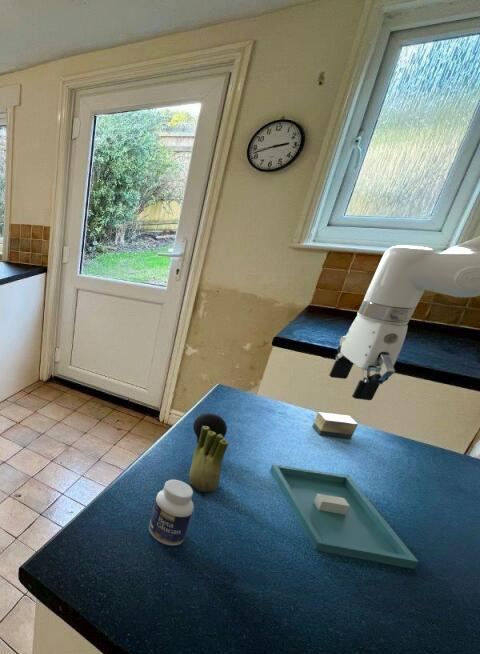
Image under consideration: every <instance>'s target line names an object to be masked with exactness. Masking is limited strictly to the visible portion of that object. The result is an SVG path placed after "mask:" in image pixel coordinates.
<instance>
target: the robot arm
mask: <svg viewBox="0 0 480 654" xmlns="http://www.w3.org/2000/svg"><path fill="white" fill-rule="evenodd" d="M425 291H429V292H433V293H437V294H442V295H446V296H449V297H454V298H475V297H480V236H476V237H475V238H472V239H470V240H466V241H464V242H462V243H459V244H457V245H454V246H452V247H450V248H448V249H446V250H443V252H440V251H439V250H437V249H435V248H430V247H425V246H419V245H393V246H391V247H389V248H387V249H386V250H385V252H384V253H383V255H382V257H381V259H380V262H379V263H378V266H377V268H376V270H375V272H374V275H373V277H372V279H371V282H370V283H369V286H368V288H367V290H366V293H365V295H364V298H363V299H362V302H361V304H360V307H359V309H358V311H357V313H356V317H355V319H354V320H353V322H352V323H351V325H350V326H349V329H348V331H347V333H346V334H345V335H343V336H341V337H340V338H339V346H338V347H337V354H336V355H335V361H334V363H333V365H332V368H331V370H330V372H329V374H328V376H329V377H330V378H334V379H342V380H343V379H344V380H345V379H348V377H349V375H350V373H351V371H352V368H353V366H354V365H355V366H356V367H357V368H359V369H361V370H362V379H360V380H359V381H358V383H357V385H356V387H355V389H354V391H353V393H352V395H351V397H352V398H353V399H356V400H363V401H364V400H365V401H372V400H373V399H374V396H375V394H376V393H377V391H378V389H379V387H380V385H383V383H384V382H386V381H388V380H389V378H390V377H391V376H392V375H394V373H395V372H396V370H395V364H396V362H397V360H398V358H399V355H400V353H401V351H402V348H403V345H404V342H405V339H406V336H407V332H408V324H409V321H410V320H411V318H412V316H413V314H414V312H415V310H416V308H417V305H418V304H419V302H420V300H421V298H422V296H423V294H424V292H425ZM371 372H372V373H374V374H372V375H371Z"/></svg>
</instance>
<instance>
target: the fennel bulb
mask: <svg viewBox="0 0 480 654" xmlns="http://www.w3.org/2000/svg"><path fill="white" fill-rule="evenodd" d="M215 437H216V433H215V432H213V431H210V428H209V427H207V426H202V429H201V433H200V437H199V441H198V443H197V442H196V447H195V449H194V452H193V455H192V459H191V465H190V466H191V467H190V469H189V473H188V479H189V481H188V482H189V486H190V487H191V488H192V489H194V490H196V491H198V492H201V493H213V492H215V491H217V489H218V487H219V483H220V478H221V471H222V463H223V460H224V457H225V453H226V451H227V448H228V446H229V442H228V441H227V440H226V439H225V438H224V437H223V436H222V435H221V434H218V435H217V437H216V439H215Z"/></svg>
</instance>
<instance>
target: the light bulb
mask: <svg viewBox="0 0 480 654" xmlns="http://www.w3.org/2000/svg"><path fill="white" fill-rule="evenodd" d="M202 426H207V427H209V428H210V431H213V432H215V433H216V437H217V435H218V434H221V435H222V436H223V438H225V436H226V434H227V432H228V426H227V423H226V421H225V420H224V419H223V417H222V416H220V415H218V414H216V413H212V412H206V413H202V414H200V415H198V416H197V417H196V418H195V420H194V421H193V425H192V429H193V432H194V434H195V436H196V444H197V443H198V441H199V437H200V433H201V429H202ZM216 437H215V439H216Z"/></svg>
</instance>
